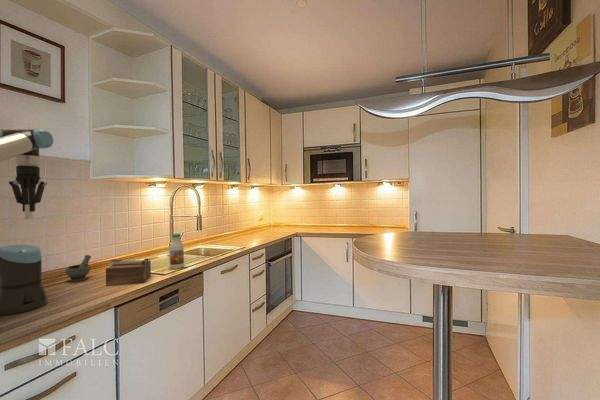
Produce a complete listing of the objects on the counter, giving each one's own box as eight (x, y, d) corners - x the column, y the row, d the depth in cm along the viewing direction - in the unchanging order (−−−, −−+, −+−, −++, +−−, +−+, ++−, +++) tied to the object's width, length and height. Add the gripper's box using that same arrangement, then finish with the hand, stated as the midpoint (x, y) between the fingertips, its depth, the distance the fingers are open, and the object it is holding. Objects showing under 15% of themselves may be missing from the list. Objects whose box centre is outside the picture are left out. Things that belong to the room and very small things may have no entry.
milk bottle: (166, 268, 166) (166, 234, 165) (176, 265, 173) (176, 232, 172) (176, 270, 163) (176, 235, 162) (186, 266, 170) (186, 233, 170)
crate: (143, 282, 139) (143, 262, 139) (103, 285, 134) (102, 265, 134) (150, 275, 152) (150, 256, 152) (114, 277, 148) (114, 258, 148)
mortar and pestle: (74, 283, 138) (73, 259, 138) (61, 282, 141) (60, 257, 141) (97, 277, 149) (97, 254, 148) (84, 276, 152) (84, 253, 152)
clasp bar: (145, 264, 144) (145, 261, 144) (107, 263, 139) (107, 260, 139) (147, 262, 147) (147, 259, 147) (110, 262, 143) (110, 259, 143)
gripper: (50, 166, 131) (51, 218, 131) (16, 166, 127) (17, 218, 128) (40, 165, 124) (41, 219, 124) (3, 164, 120) (4, 220, 121)
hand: (29, 219), depth 126 cm, fingers closed
